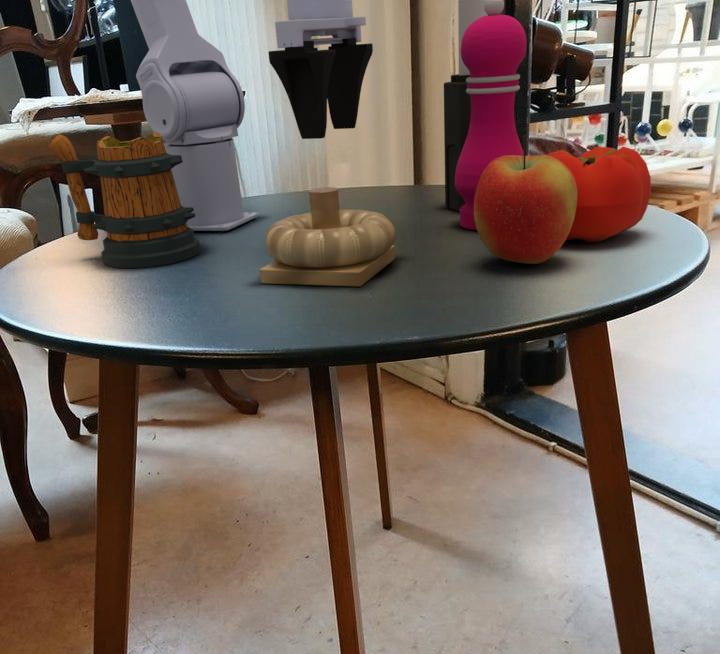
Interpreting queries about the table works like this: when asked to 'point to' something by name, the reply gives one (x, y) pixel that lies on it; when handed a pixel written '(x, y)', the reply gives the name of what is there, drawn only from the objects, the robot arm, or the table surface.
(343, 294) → the table surface
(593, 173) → the tomato
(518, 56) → the pepper mill
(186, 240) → the mug
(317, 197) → the peg stand
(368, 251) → the ring
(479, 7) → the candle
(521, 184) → the apple
